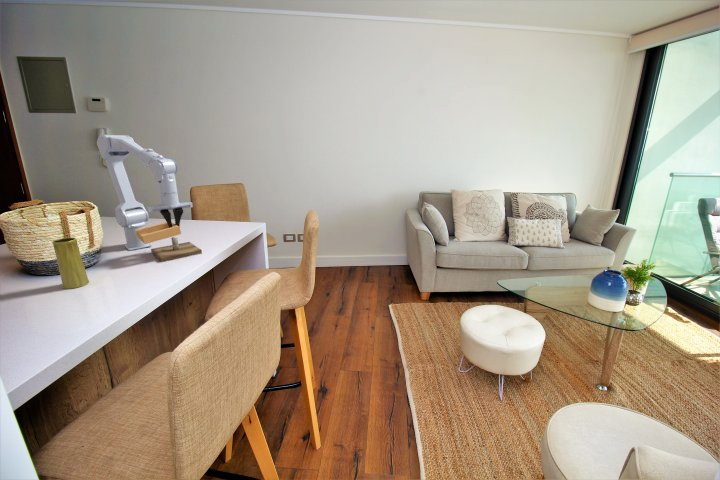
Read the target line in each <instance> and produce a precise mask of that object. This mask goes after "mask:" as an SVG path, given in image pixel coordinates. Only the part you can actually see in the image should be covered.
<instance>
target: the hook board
mask: <svg viewBox="0 0 720 480" xmlns="http://www.w3.org/2000/svg"><path fill="white" fill-rule="evenodd" d="M170 239H171V245H165V246H159V247H154V248H151V249H150V252H151V254H153V255H154V257H155V258H157V259H158V260H159V261H160V262H161V263H163V262H169V261H173V260H178V259H182V258H187V257H191V256H195V255H196V256H197V255H200V254H201V255H202V254H203V252H202V249H201V248H200V247H198V246H196V245H195V244H194V243H192V242H190V241H186V242H181V243H179V239H178V237H175V236H172V237H170Z"/></svg>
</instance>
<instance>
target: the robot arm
mask: <svg viewBox="0 0 720 480" xmlns="http://www.w3.org/2000/svg"><path fill="white" fill-rule="evenodd" d="M96 145H97V148H98V152H99V153H100V156H101V159H103V160H104V161H105V163H106V167H107V170H108V172H109V175H110V178H111V181H112V184H113V187H114V189H115V192H116V195H117V198H118V201H119V203H118V205H117V206H116V207H115V208H114V213H115V214H114V215H115V220H116V222H117V224H118V225H119V226H120V227H121V228H123V231H124V236H125V239H126V243H124V244H123V245H124V247H125V248H126V249H127V250H128V251H133V250H139V249H145V248H151V247H152V244H151V243H147V244H144V243H143V242H142V241H141V240H140V239H139V238H138V237H137V234H136V232H135V230H136V229H140V228H144V227H146V225H147V222H148V221H149V219H150V217H149V213H154V212H159V214H161V215H162V217H163V219H164V220H165V222H167V224H168V226H169V228H171V227H172V223H173V222H172V214H171V212H170V210H172V212H173V217H174V224H176V225H177V226H179V228H180V229H181V227H180V225H181V224H180V223H181V220H182V216H183V214H184V209H185V208H186V209H188V208H189V209H190V208H194V207H193V205H194V204H193V202H191V201H188V202H185V201H184V202H180V200H179V194H178V188H177V187H178V185H177V181H176V174H177V173H178V169H179V168H178V164H177V162H176V161H175V160H174V159H173V158H170V157H169V158H165V157H164V156H163V155H162V154H159V153H157V152H156V151H154V149H152V148H144V147H142V146H141V145H139V144H138V143H136V142H135V141H134V138H133V137H131V136H130V135H128V134H122V135H119V134H104V133H102V134H99V135H98V137H97V141H96ZM130 154H132V155H134V156H135V157H138V160H139V162H140V163H142V165H145V166H146V167H148V168H150V170H151V171H152V173H153V175H154V178H155V181H157V186H158V192H159V197H160V204H157V205H149V206H148V205H147V209H146V208H145V206H144V203H142V202H139V201H137V200H136V198H135V195H134V192H133V189H132V186H131V182H130V179H129V178H128V177H129V176H128V174H127V171H126V168H125V166H124V163H123V162H124V159H126V158H128V157H129V155H130Z"/></svg>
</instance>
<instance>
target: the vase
mask: <svg viewBox="0 0 720 480" xmlns="http://www.w3.org/2000/svg"><path fill="white" fill-rule="evenodd" d="M52 245H53V250H54V255H55V257H56V261H57V267H58V270H59V275H60V278H61V280H60V281H61V284H62V288H64V289H67V290H71V289H78V288H81V287H84V286H86V285H88V284H89V283H90V279H89V278H88V275H87V271H86V268H85V264H84V261H83V258H82V255H81V252H80V249H79V248H80V247H79V243H78V240H77V238H76V237H63V238H57V239H54V240H52Z"/></svg>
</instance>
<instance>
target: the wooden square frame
mask: <svg viewBox="0 0 720 480" xmlns="http://www.w3.org/2000/svg"><path fill="white" fill-rule="evenodd" d="M135 232H136V234H137V237H138V238H139V239H140V240H141V241H142V242H143V243H144V244H147V243H150V244H151V243H154V242H159V241H161V240H165V239H168V238H172V237H175V236H179V235H182V231H181V227H180V228H179V226H177V225H176V224H175V222H172V227H171V228H169V226H168V224H167V222H166V221H165V222H161V223H157V224H153V225H149V226H145V227H144V228H140V229H136V230H135Z"/></svg>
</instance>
